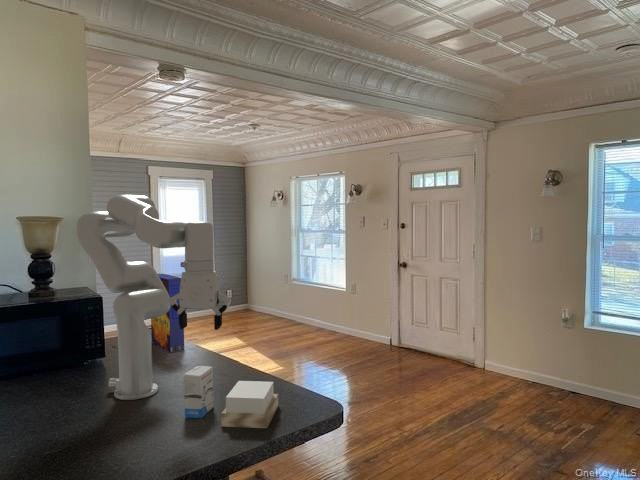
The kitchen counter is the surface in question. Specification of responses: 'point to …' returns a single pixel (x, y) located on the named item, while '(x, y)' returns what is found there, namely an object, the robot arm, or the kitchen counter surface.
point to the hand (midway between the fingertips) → (200, 328)
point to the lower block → (250, 417)
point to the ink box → (198, 391)
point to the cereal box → (168, 320)
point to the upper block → (250, 397)
